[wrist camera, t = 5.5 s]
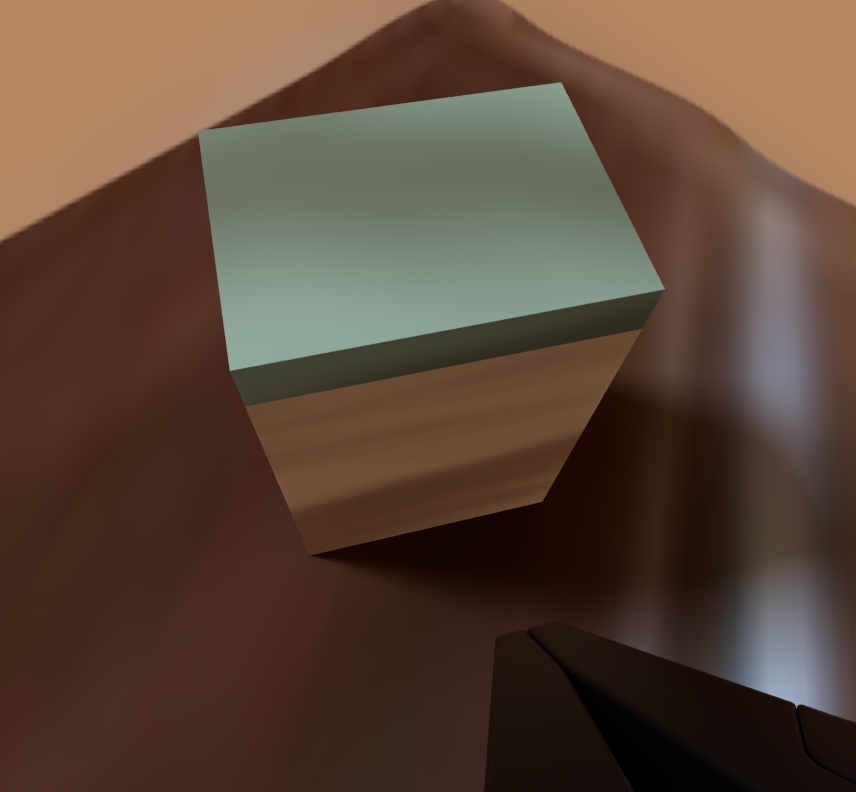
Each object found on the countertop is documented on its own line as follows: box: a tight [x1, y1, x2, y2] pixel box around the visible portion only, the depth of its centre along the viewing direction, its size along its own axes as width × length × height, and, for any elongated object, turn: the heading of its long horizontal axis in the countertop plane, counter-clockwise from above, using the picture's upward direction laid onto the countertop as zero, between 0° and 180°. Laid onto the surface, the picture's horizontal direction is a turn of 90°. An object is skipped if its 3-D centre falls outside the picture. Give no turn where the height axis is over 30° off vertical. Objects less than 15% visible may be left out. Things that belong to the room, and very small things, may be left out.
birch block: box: [198, 83, 665, 555], centre depth 14 cm, size 4×6×9 cm
